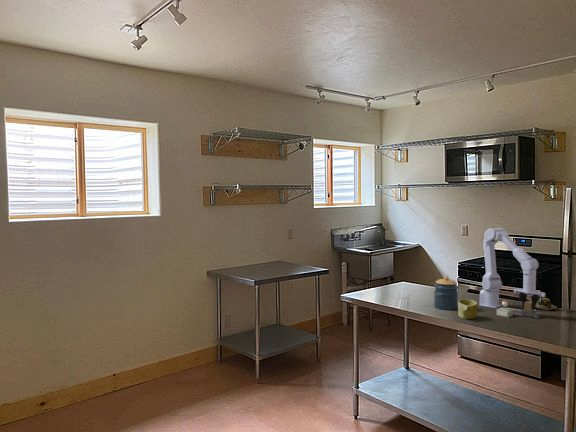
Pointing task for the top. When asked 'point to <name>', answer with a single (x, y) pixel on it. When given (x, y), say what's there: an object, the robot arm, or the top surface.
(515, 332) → the top surface
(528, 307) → the carriage
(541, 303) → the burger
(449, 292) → the canister
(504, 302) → the orange and white dome
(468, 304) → the mug
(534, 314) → the rail
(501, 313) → the grey square block
